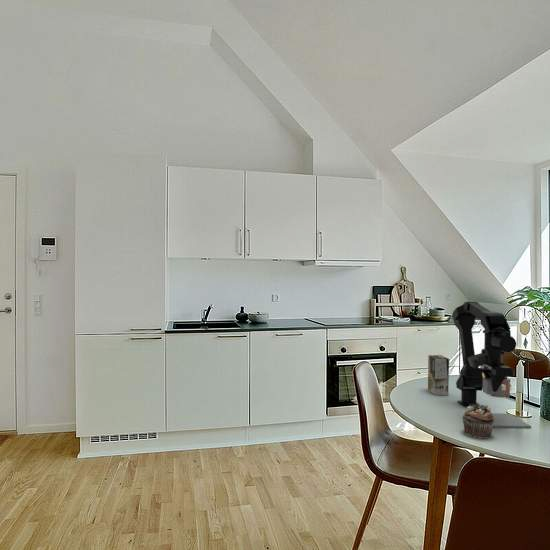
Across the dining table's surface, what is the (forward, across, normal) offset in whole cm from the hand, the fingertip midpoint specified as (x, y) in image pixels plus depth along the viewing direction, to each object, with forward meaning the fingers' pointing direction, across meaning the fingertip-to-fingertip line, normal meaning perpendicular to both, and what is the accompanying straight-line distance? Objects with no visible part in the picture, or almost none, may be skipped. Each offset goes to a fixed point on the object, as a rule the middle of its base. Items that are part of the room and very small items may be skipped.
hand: (492, 390), depth 157 cm
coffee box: (+11, -36, -7) cm, 38 cm away
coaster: (+11, +1, +3) cm, 12 cm away
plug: (+1, 0, 0) cm, 1 cm away
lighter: (+11, -33, +19) cm, 40 cm away
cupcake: (+11, +13, -11) cm, 21 cm away
